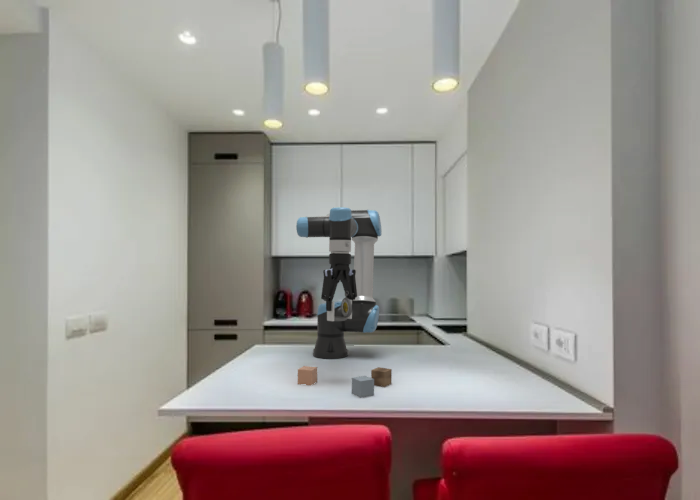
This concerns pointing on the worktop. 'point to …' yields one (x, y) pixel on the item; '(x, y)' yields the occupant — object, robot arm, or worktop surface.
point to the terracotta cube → (307, 375)
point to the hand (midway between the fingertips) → (339, 319)
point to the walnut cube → (381, 376)
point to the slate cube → (362, 386)
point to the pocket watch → (344, 309)
